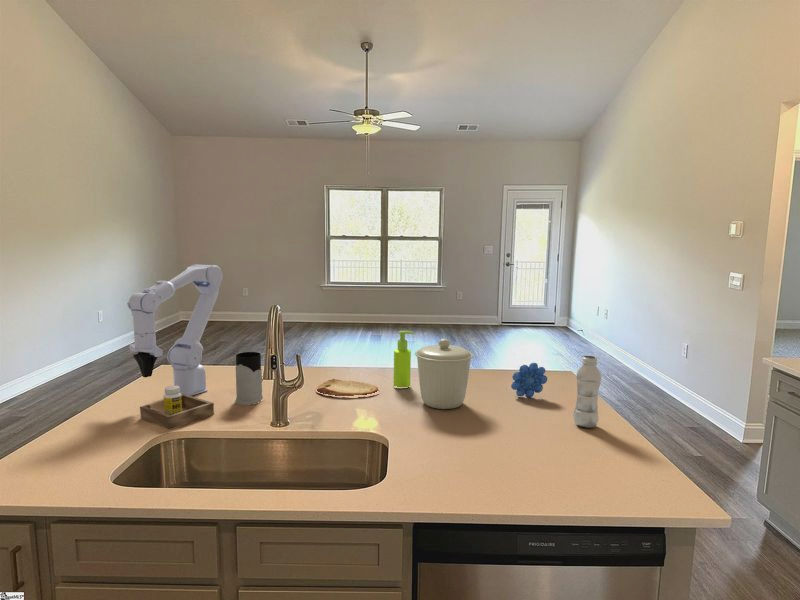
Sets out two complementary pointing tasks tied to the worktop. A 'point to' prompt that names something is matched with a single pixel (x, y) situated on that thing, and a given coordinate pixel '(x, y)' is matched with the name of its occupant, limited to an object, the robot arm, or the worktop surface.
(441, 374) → the canister
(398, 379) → the soap dispenser
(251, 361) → the grey and black cylinder
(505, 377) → the worktop surface
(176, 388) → the supplement bottle
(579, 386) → the plastic bottle
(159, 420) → the walled box
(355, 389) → the slice of bread
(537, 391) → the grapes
